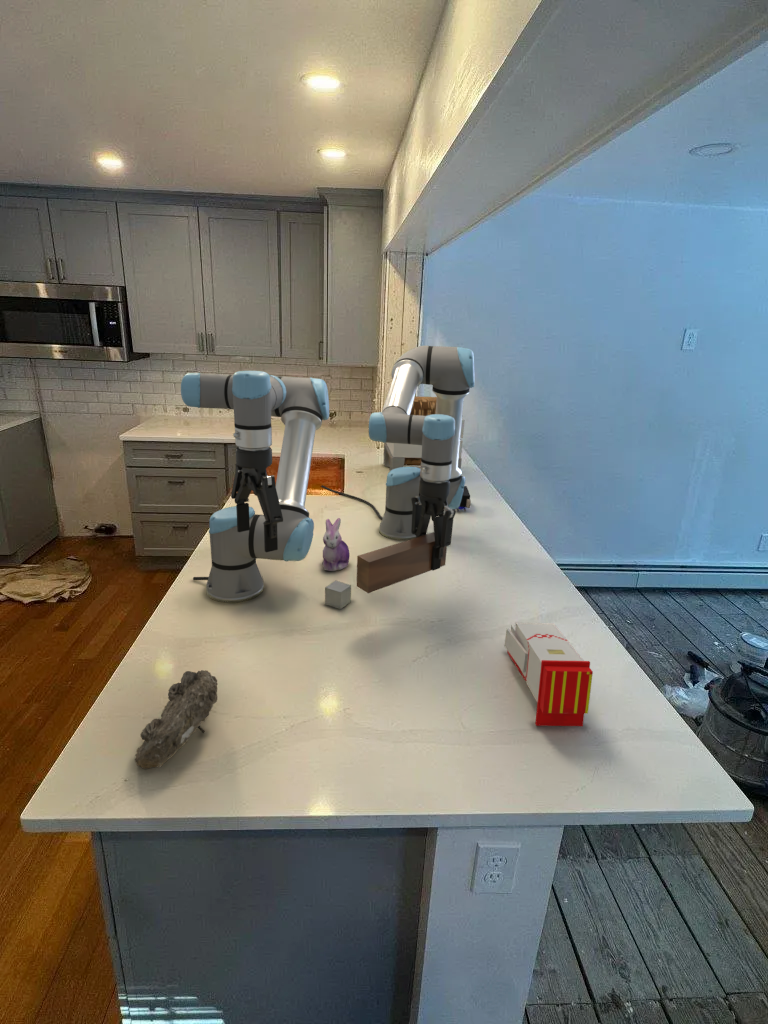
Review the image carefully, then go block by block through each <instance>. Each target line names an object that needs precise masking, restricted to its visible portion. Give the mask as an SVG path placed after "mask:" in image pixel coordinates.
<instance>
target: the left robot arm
mask: <svg viewBox="0 0 768 1024" xmlns="http://www.w3.org/2000/svg"><path fill="white" fill-rule="evenodd" d="M180 396H181V400H182V402H183V403H184V404H185V405H186V406H187V407H191V408H198V409H219V410H233V421H234V422H233V423H234V433H232V435H233V438H234V440H235V442H234V443H235V446H236V448H235V474H234V478H233V483H232V490H231V493H230V497H231V499H233V500H234V503H235V504H236V505H234V506H233V505H232V506H229V507H224V508H221V509H218V510H217V511H215V512H214V513H212V515H211V516H210V517H209V519H208V520H209V521H208V522H209V530H208V534H209V544H210V545H209V546H210V558H211V568H210V571H209V574H208V576H193V578H192V580H193V581H206V587H205V588H206V595H207V596H208V598H210V599H212V600H213V601H215V602H216V601H217V602H221V603H227V604H229V603H230V604H234V603H241V602H246V601H247V602H248V601H251V600H253V599H255V598H257V597H258V596H259V595H261V594H262V593H263V592H264V589H265V588H264V587H265V586H264V585H265V581H264V580H265V579H264V578H263V575H262V573H261V571H260V568H259V566H258V564H257V559H260V560H261V559H262V560H270V561H272V560H273V561H283V562H301V561H303V560H304V559H305V558H307V556H308V554H309V551H310V549H311V545H312V542H313V538H314V529H315V523H314V520H313V518H311V517H310V512H309V511H308V509H307V508H306V502H307V501H306V500H307V492H308V486H309V478H310V473H311V464H312V457H313V450H314V443H315V436H316V431H318V430H319V429H321V427H322V425H323V421H326V420H327V421H328V420H329V417H330V399H329V390H328V386H327V383H326V381H325V380H324V379H322V378H314V377H312V376H310V377H298V376H297V377H295V376H281V375H272V374H269V373H268V372H266V371H262V370H238V371H236V372H234V373H233V374H221V373H220V374H219V373H205V372H202V373H201V372H187V373H186V374H184V375H183V377H182V379H181V382H180ZM272 417H273V418H274V417H275V418H280V420H281V422H282V424H283V425H284V430H283V438H282V443H281V449H280V456H279V462H278V468H277V474H276V477H275V475H274V474H271V475H268V472H267V468H268V467H271V465H272V464H273V449H272V448H271V446H272V445H273V431H272V430H273V427H272ZM252 492H253V495H254V496H256V497H257V500H258V503H259V506H260V509H261V512H262V514H256V511H255V509H254V507H252V506H250V503H249V502H250V499H249V498H250V495H251V493H252Z"/></svg>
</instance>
